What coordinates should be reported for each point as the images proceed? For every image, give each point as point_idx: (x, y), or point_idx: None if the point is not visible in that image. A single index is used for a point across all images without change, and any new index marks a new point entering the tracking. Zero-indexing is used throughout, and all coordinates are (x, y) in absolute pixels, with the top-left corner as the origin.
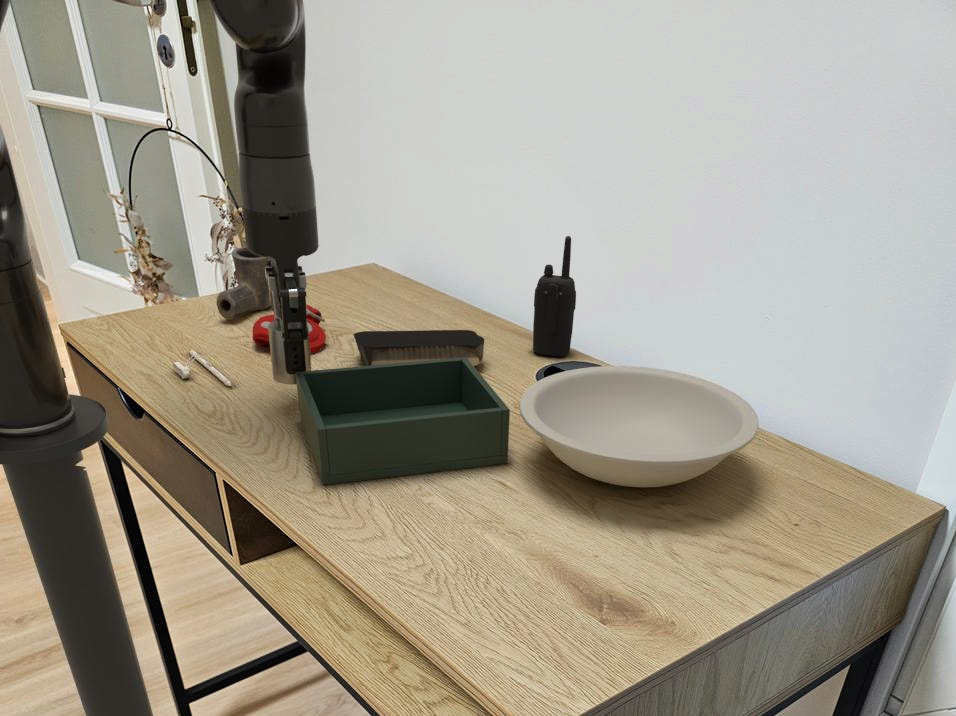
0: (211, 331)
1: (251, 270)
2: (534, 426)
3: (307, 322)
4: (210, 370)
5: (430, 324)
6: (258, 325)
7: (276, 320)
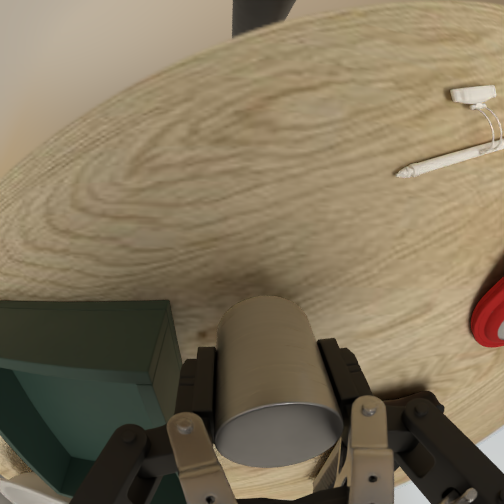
0: None
1: None
2: (18, 486)
3: None
4: (470, 148)
5: (461, 429)
6: None
7: (355, 409)
